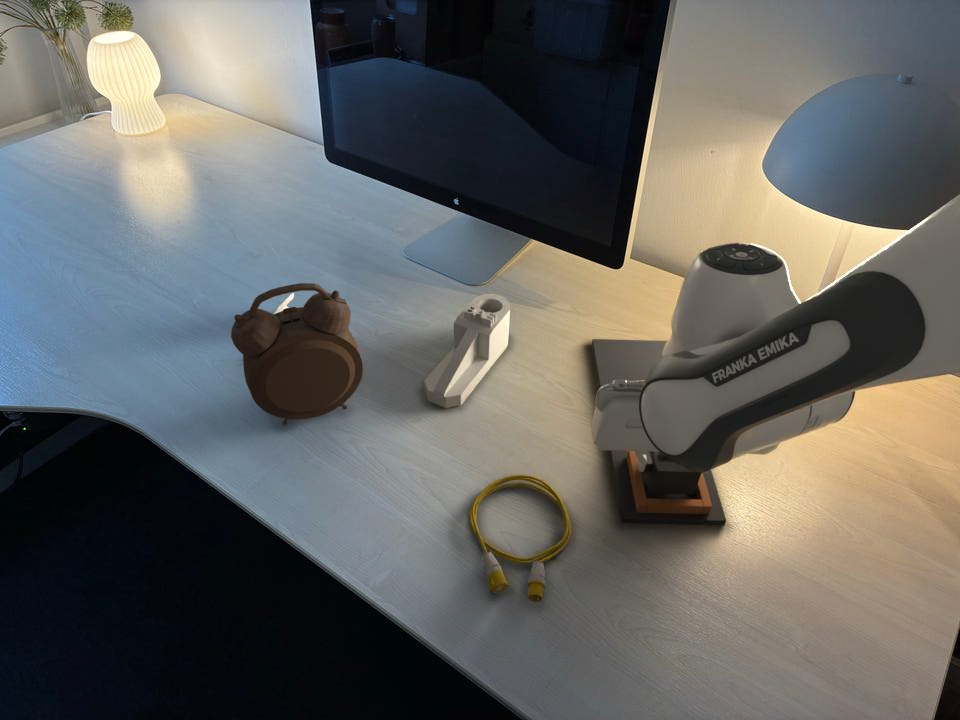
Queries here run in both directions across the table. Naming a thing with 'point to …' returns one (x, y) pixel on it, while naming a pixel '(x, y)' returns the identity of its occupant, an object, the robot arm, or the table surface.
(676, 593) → the table surface
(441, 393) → the angled bracket with hole
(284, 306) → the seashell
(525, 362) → the table surface
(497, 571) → the extension cord
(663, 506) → the base pad
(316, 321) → the alarm clock
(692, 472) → the black block
